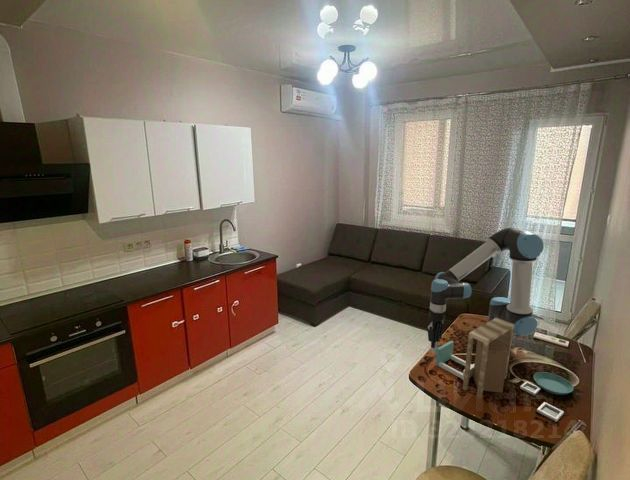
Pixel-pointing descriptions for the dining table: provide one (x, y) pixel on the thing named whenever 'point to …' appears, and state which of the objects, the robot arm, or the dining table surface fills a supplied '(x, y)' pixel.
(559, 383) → the saucer
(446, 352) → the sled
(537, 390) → the pit side
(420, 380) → the dining table surface
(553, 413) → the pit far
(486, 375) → the wooden block
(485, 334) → the beige tall open frame
